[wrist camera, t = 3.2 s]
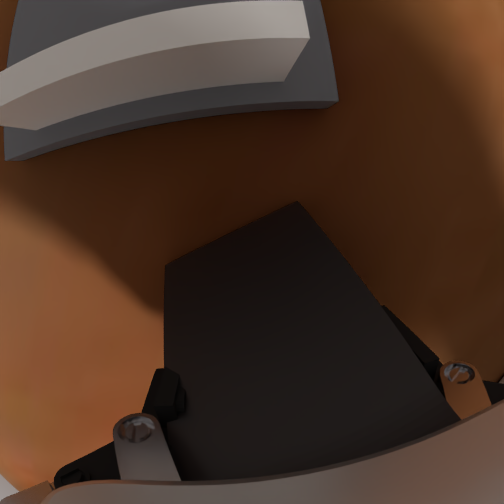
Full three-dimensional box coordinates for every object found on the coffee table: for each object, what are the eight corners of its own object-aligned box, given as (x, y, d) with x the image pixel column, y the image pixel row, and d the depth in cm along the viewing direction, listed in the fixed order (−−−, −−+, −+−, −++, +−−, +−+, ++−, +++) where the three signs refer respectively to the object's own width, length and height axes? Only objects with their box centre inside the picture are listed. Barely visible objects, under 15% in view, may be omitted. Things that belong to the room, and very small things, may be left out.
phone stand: (360, 361, 15) (474, 553, 3) (256, 407, 15) (284, 622, 3) (296, 199, 12) (602, 365, 1) (166, 261, 13) (7, 544, 1)
